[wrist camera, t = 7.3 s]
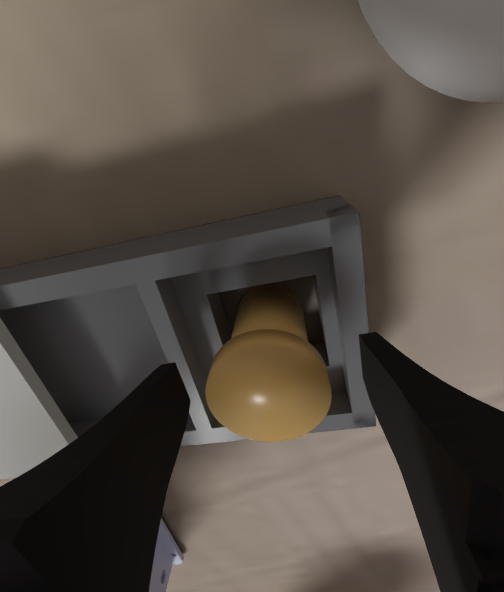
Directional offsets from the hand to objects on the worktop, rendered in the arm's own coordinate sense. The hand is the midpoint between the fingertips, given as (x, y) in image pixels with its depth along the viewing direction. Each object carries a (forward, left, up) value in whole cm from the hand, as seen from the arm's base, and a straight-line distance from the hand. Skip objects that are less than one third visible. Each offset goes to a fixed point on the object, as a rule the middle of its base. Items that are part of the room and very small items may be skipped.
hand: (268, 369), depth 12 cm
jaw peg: (0, 0, -5) cm, 5 cm away
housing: (0, +5, -5) cm, 7 cm away
